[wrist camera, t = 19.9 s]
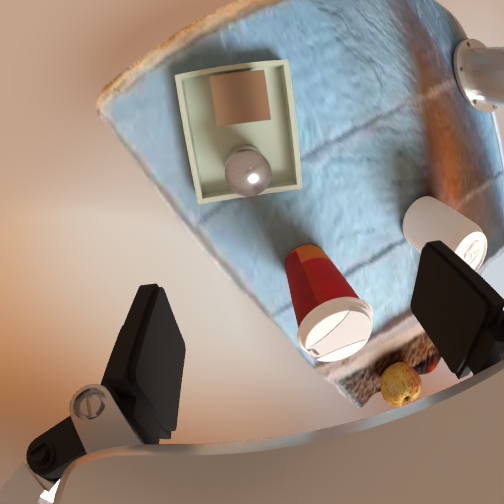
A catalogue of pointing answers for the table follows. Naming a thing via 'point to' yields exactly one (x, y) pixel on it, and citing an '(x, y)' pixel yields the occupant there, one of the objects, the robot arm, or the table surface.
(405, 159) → the table surface
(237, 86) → the walnut block
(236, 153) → the metal cylinder
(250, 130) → the parts tray
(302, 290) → the coffee cup
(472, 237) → the beverage can
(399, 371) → the apple
